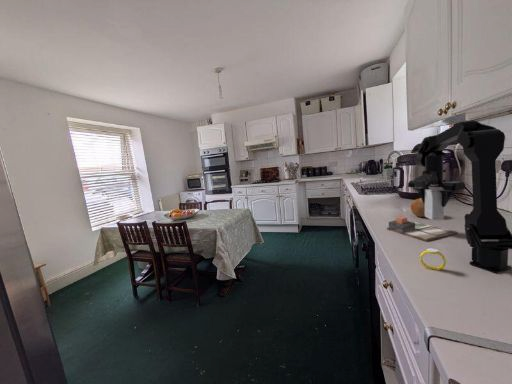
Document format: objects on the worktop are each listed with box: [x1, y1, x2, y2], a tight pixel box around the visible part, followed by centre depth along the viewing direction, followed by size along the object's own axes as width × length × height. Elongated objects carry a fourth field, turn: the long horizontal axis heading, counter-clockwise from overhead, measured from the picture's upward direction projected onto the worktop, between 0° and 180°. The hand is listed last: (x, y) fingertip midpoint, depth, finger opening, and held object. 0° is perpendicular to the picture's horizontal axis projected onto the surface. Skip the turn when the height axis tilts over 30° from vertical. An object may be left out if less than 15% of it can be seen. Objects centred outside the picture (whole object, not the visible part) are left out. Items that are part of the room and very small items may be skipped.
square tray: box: [386, 219, 459, 243], centre depth 96 cm, size 18×17×4 cm
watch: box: [419, 247, 447, 271], centre depth 67 cm, size 6×3×6 cm, turn 53°
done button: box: [395, 216, 408, 224], centre depth 99 cm, size 3×3×3 cm
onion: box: [410, 197, 426, 218], centre depth 116 cm, size 10×10×10 cm
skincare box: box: [424, 188, 445, 221], centre depth 92 cm, size 6×4×12 cm
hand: (434, 205), depth 92 cm, fingers closed on skincare box, 7 cm apart
